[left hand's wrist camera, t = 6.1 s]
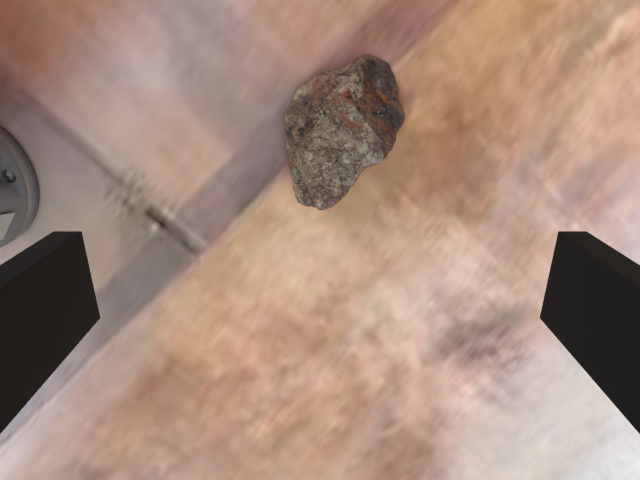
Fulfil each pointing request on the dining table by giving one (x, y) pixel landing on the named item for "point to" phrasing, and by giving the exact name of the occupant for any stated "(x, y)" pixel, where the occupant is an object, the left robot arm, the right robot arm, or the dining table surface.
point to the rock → (340, 129)
